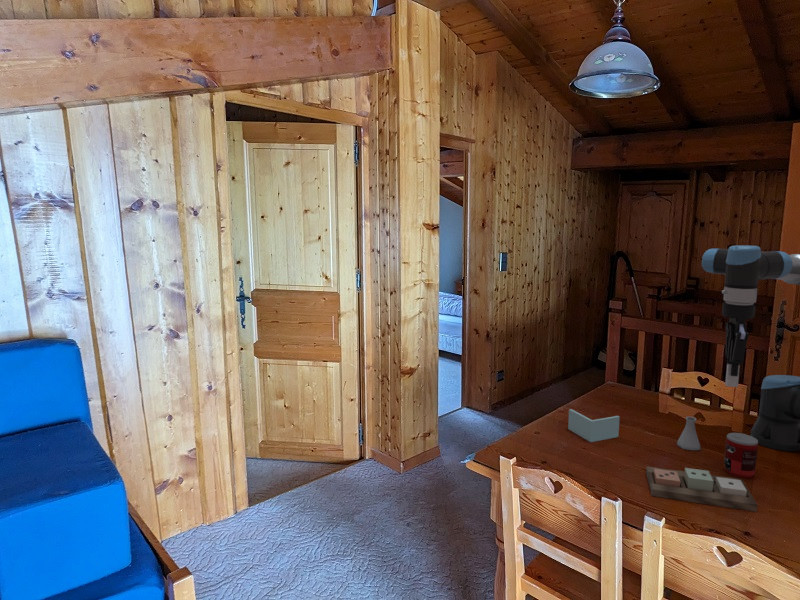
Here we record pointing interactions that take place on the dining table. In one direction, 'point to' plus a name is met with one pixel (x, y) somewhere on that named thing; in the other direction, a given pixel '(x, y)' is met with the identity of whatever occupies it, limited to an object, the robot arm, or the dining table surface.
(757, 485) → the dining table surface
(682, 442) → the flask
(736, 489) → the tile one
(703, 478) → the tile two
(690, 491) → the button board
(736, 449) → the canned food
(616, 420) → the right angle wall
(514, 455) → the dining table surface
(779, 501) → the dining table surface
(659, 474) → the tile three
